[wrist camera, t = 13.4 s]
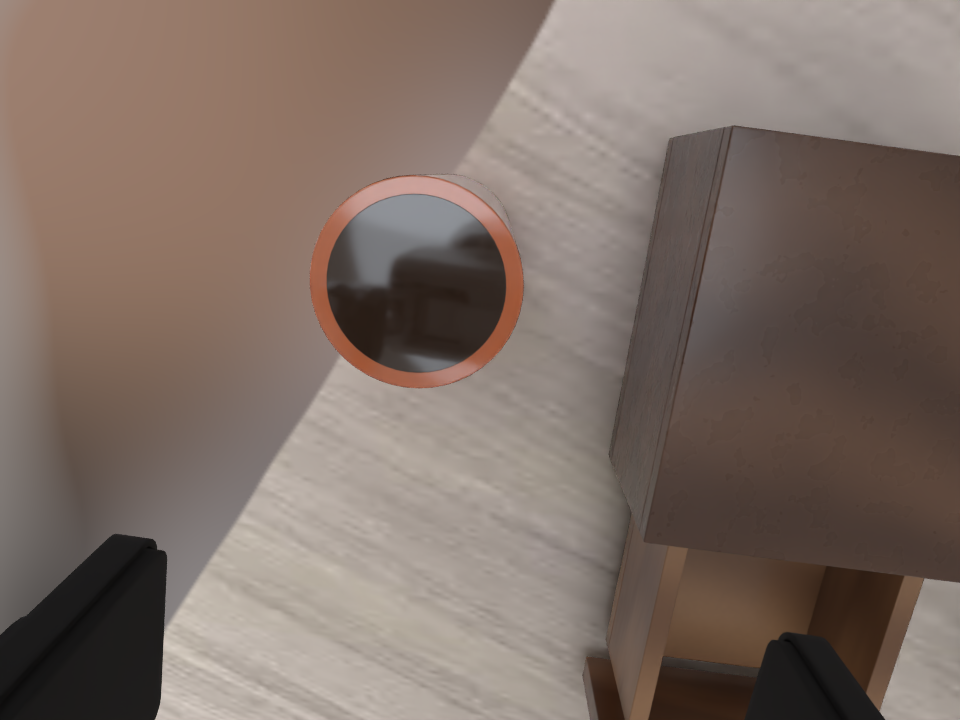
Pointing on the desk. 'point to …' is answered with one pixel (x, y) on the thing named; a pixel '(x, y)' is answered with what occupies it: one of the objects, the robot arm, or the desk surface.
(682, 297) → the cabinet
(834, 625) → the drawer
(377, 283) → the pencil cup
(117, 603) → the robot arm
